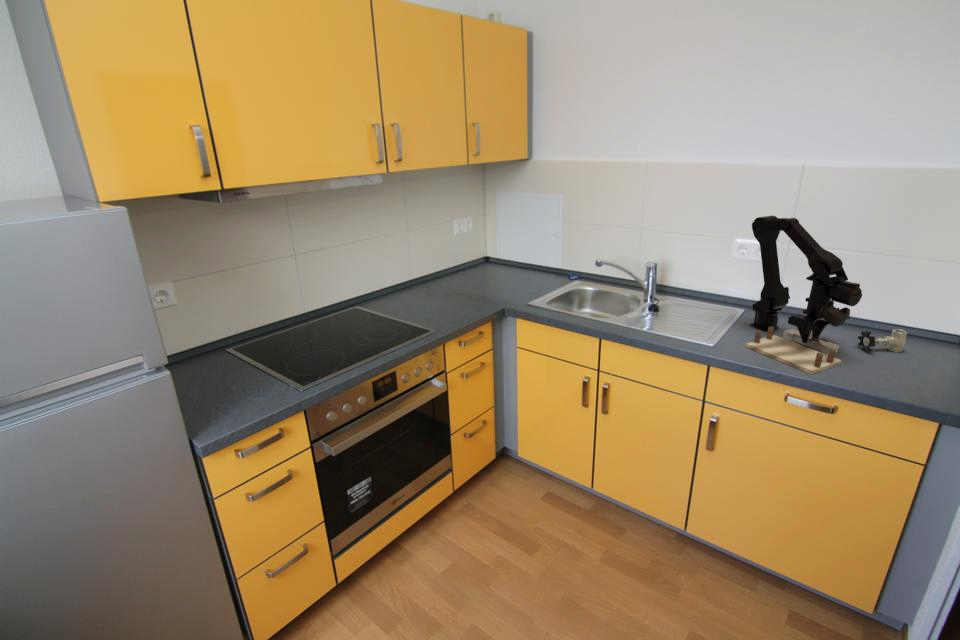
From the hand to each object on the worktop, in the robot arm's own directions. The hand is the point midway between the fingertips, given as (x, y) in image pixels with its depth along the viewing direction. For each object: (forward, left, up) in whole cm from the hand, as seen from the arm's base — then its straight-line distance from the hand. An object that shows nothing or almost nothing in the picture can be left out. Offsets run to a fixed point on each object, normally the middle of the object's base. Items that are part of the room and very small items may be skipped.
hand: (809, 341), depth 164 cm
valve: (+13, +15, -2) cm, 21 cm away
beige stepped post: (0, 0, -1) cm, 1 cm away
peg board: (+2, -12, -1) cm, 12 cm away
